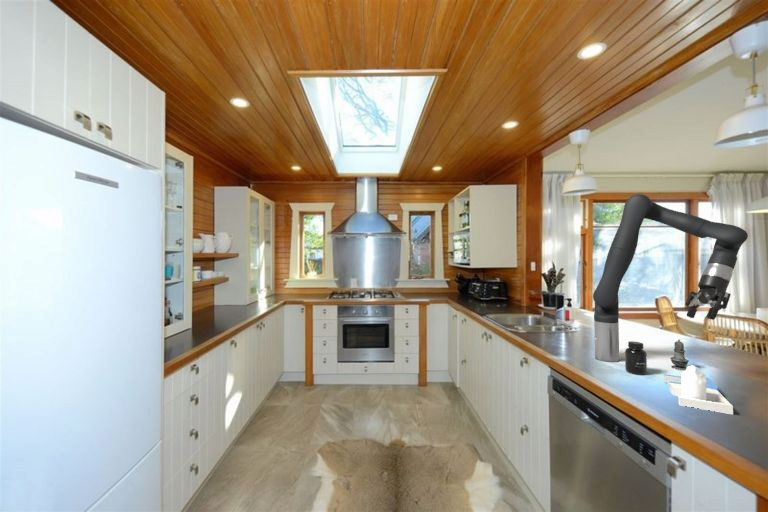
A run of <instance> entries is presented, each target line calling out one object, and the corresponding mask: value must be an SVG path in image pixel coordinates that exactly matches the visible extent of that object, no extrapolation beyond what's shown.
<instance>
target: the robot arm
mask: <svg viewBox="0 0 768 512" xmlns="http://www.w3.org/2000/svg"><path fill="white" fill-rule="evenodd" d="M644 219H646V220H651V221H654V222H658V223H661V224H663V225H666V226H668V227H671V228H673V229H676V230H678V231H681V232H682V233H686V234H689V235H691V236H694V237H696V238H700V239H705V238H712V239H715V243H714V245H713V250H712V253H711V254H710V257H709V260H708V262H707V264H706V266H705V267H704V269H703V271H702V273H701V274H702V275H701V277H700V279H699V281H698V283H697V287H698V289H699V290H698V291H697V292H695V291H690V293H689V295H688V298H687V300H686V302H685V306H687V307H688V310H687V313H686V316H687V317H688V318H690V319H695V316H696V314H697V311H698V310H699V308H700V307H703V306H704V305H708V304H709V306H710V307H709V309H708V311H707V314H706V318H707V319H708V320H713V321H714V320H715V319H716V318H717V315H718V312H719V311H721V310H722V309H723V310H725V309H727V308H728V305H729V301H730V297H731V296H732V295H731V293H729V292H727V289H728V287H729V285H730V282H731V279H732V278H733V273H734V272H733V271H734V269H735V267H736V264H737V262H738V254H739V252H740V249H741V247H742V245H744V243H745V242H746V241H747V239H748V232H747V231H746V230H745V229H744V228H741V227H739V226H737V225H733V224H728V223H723V222H716V221H710V220H709V219H705V218H703V217H699V216H697V215H694V214H689V213H686V212H682V211H678V210H674V209H670V208H668V207H665V206H662V205H660V204H658V203H656V202H654V201H653V200H652V199H651V198H650V197H649V196H647V195H646V194H642V193H636V194H633V195H631V196H630V197H629V198H627V200H626V201H625V203H624V206H623V210H622V215H621V219H620V223H619V226H618V228H617V230H616V232H615V235H614V237H613V238H612V242H611V245H610V247H609V249H608V253H607V255H606V259H605V264H604V268H603V271H602V276H601V277H600V280H599V282H598V284H597V286H596V288H595V289H594V291H593V294H592V298H593V301H594V314H593V320H594V321H593V322H594V323H593V324H594V325H593V328H594V339H593V340H594V359H595V360H599V361H602V362H612V363H615V362H616V363H617V362H619V361H620V331H619V329H620V328H619V324H620V323H619V315H620V314H619V313H620V312H619V305H620V304H619V302H620V301H619V291H620V287H621V283H622V280H623V278H624V276H625V274H626V273H627V271H628V269H629V268H630V265H631V263H632V262H633V259H634V257H635V253H636V251H637V247H638V242H639V236H640V229H641V226H642V224H643V222H644Z"/></svg>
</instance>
